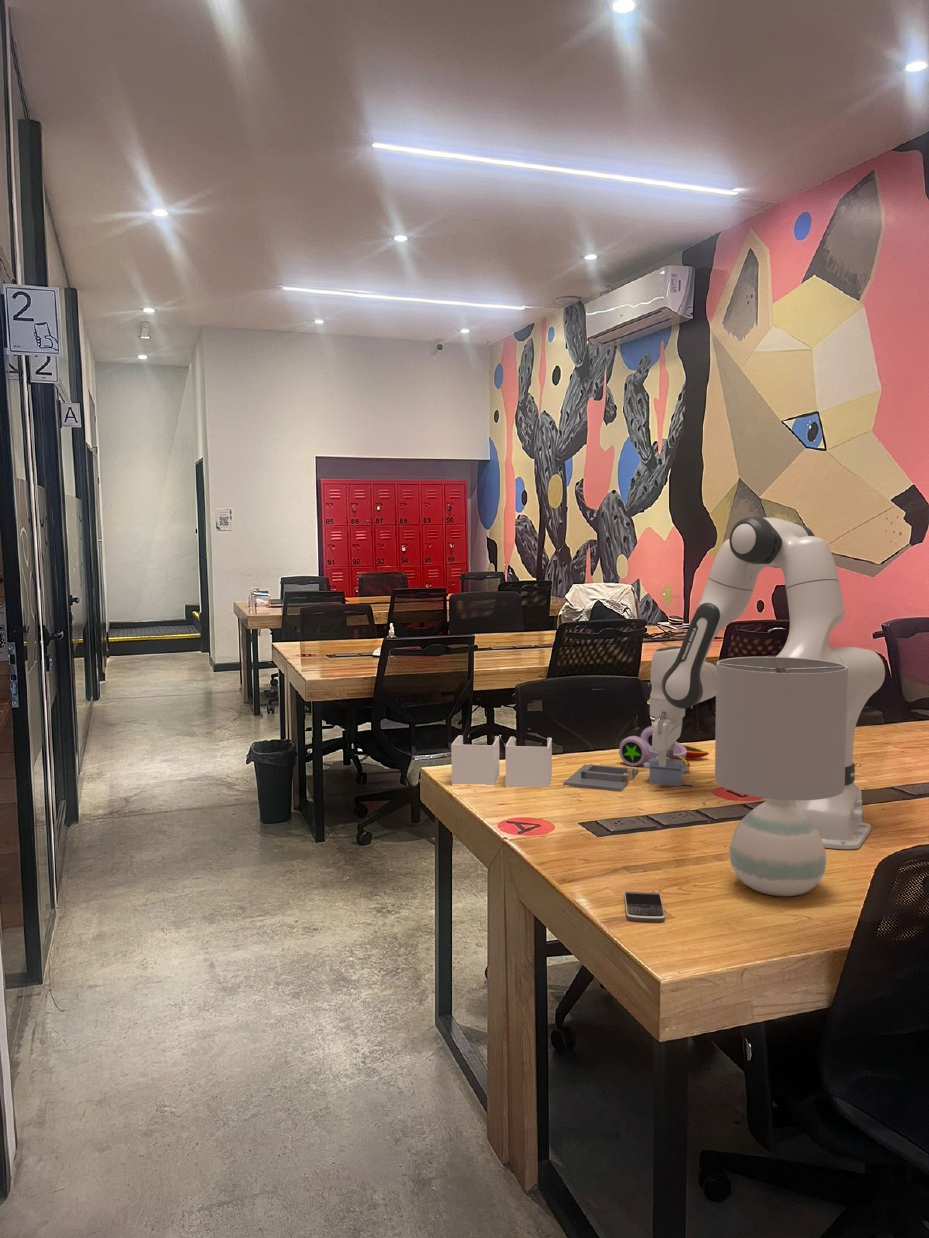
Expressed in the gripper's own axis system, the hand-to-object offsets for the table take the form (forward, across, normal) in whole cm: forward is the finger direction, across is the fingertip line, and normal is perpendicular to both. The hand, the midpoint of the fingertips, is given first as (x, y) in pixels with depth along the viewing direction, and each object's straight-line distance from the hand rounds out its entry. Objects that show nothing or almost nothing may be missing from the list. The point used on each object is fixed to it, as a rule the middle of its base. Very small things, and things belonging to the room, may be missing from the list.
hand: (666, 761), depth 226 cm
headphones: (+6, +21, +5) cm, 23 cm away
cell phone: (+5, -80, -12) cm, 82 cm away
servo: (+6, -1, 0) cm, 6 cm away
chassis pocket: (+6, -3, +16) cm, 17 cm away
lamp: (+5, -62, -32) cm, 70 cm away
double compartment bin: (+6, -15, +40) cm, 43 cm away
